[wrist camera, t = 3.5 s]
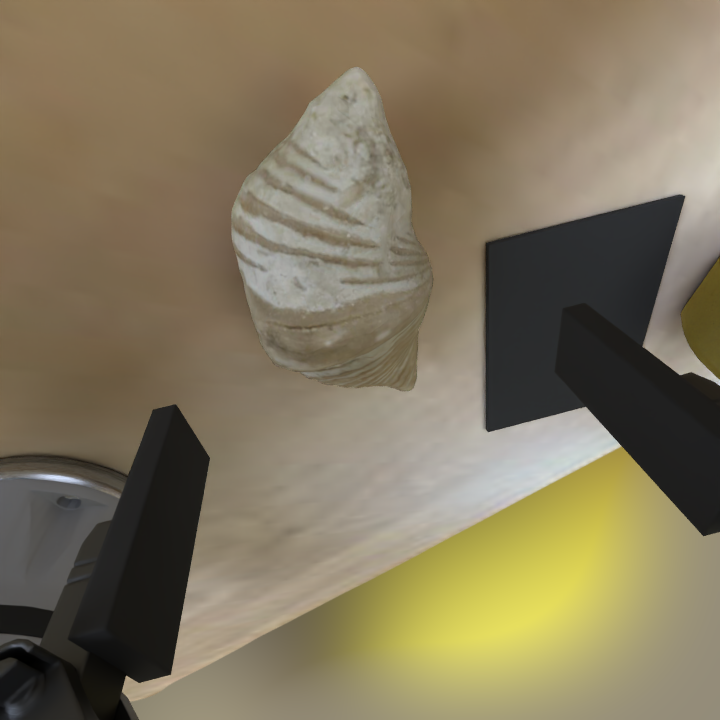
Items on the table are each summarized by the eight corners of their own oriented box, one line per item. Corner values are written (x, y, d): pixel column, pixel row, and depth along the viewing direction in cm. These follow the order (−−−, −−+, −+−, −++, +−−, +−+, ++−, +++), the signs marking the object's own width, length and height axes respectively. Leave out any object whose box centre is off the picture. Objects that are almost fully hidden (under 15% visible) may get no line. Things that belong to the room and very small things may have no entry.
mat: (485, 429, 33) (487, 432, 33) (485, 242, 24) (489, 244, 23) (625, 392, 34) (628, 395, 33) (680, 194, 24) (685, 195, 24)
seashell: (473, 392, 23) (394, 468, 15) (339, 386, 28) (222, 441, 20) (455, 120, 20) (347, 26, 12) (311, 167, 25) (164, 123, 17)
